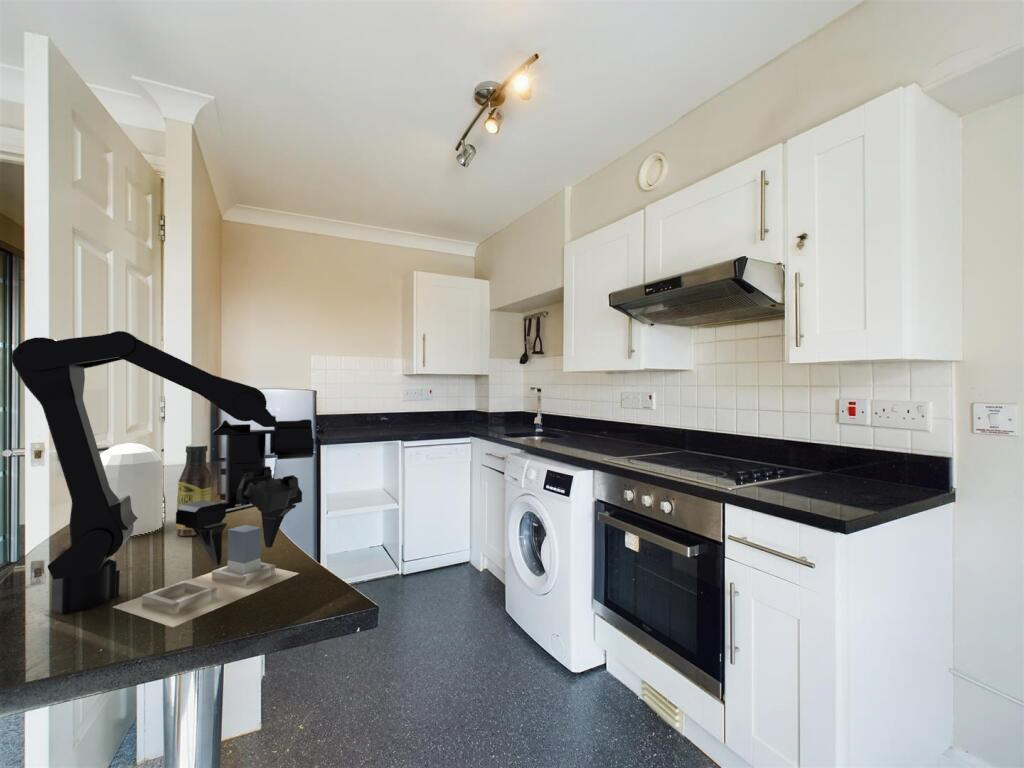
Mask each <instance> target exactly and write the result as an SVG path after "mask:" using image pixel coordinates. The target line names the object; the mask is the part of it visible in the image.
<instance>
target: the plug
mask: <svg viewBox="0 0 1024 768" xmlns="http://www.w3.org/2000/svg"><path fill="white" fill-rule="evenodd" d="M261 562H262V527H259V526H254V525H249V524H243V525H241V526H237V527H231V528H229V529H227V565H226V566H227V572H230V573H234V574H238V575H245V574H248V573H251V572H253V571H256V570H259V569H261Z"/></svg>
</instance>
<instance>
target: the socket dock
mask: <svg viewBox="0 0 1024 768" xmlns="http://www.w3.org/2000/svg"><path fill="white" fill-rule="evenodd" d="M297 575H300V573H299V572H295V571H290V570H286V569H281V568H276V564H271V563H266V562H262V561H261V569H259V570H256V571H253V572H251V573H248V574H245V575H238V574H234V573H230V572H227V565H226V566H223V567H220V568H217V569H213V570H211V572H208V573H206V574H202V575H198V576H196V577H194V578H191V579H185V580H182V581H180V582H176V583H173V584H170V585H167V586H164V587H161V588H159V589H156V590H153V591H151V592H148V593H144V594H142V595H141V596H138V597H136V598H134V599H131V600H128V601H125V602H122V603H119V604H115V605H113V606H112V608H113V609H116V610H119V611H123V612H124V613H125V612H126V613H129V614H132V615H135V616H138V617H141V618H144V619H147V620H150V621H153V622H155V623H158V624H161V625H165V626H167V627H171V628H176V627H178V626H179V625H182V624H184V623H186V622H190V621H192V620H193V619H197V618H199V617H201V616H203V615H205V614H208V613H210V612H212V611H215V610H218V609H220V608H223V607H224V606H227V605H230V604H232V603H234V602H236V601H238V600H239V601H240V600H241V599H243V598H245V597H248V596H251V595H253V594H255V593H257V592H260V591H262V590H265V589H267V588H269V587H271V586H274V585H276V584H278V583H281V582H284V581H286V580H288V579H291V578H293V577H294V576H297Z"/></svg>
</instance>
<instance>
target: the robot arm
mask: <svg viewBox="0 0 1024 768" xmlns="http://www.w3.org/2000/svg"><path fill="white" fill-rule="evenodd" d="M123 360H124V361H125V362H129V363H130V364H132V365H135V366H137V367H139V368H141V369H143V370H145V371H147V372H150V373H152V374H154V375H157V376H159V377H161V378H163V379H165V380H167V381H170V382H172V383H175V384H177V385H179V386H180V387H183V388H185V389H188V390H190V391H192V392H194V393H196V394H197V395H200V396H201V397H203V398H204V399H205V400H207V401H209V402H210V403H212V404H213V405H214V406H216V407H217V408H218V409H220V410H221V411H223V412H224V413H226V414H227V415H229V416H230V417H232V418H233V419H235V420H237V421H241V422H250V421H251V422H252V421H253V422H254V423H256V424H258V425H260V426H261V427H263V428H273V429H251V424H250V423H247V424H245V423H244V424H243V423H242V424H241V423H240V424H231V423H230V422H229V421H228V420H227V419H225V420H223V421H222V423H221V424H220V425H219V426H218V427H217V428H216V429H215V430H213V431H212V435H213V436H218V437H219V436H226V439H225V440H226V441H225V445H226V446H225V450H226V452H225V467H222V468H220V471H219V472H220V476H221V475H222V476H225V483H224V484H225V487H224V488H225V489H224V490H225V491H224V492H220V493H219V500H220V501H221V502H219V501H206V500H203V501H198V502H193V503H188V504H183V505H181V506H180V508H179V509H178V510H177V509H176V513H175V525H176V524H181V525H185V527H186V528H191V529H193V530H194V532H195V533H196V535H195V536H197V537H198V539H199V540H200V542H201V544H202V545H203V547H204V549H205V551H206V553H207V555H208V557H209V559H210V560H211V563H212V564H213V565H214V566H221V561H222V550H223V549H222V548H223V547H222V539H223V538H222V537H223V531H224V530H225V528H226V526H227V525H228V524H227V522H222V521H223V520H224V519H225V518H226V517H227V515H226V514H232V513H235V512H239V511H243V510H247V509H251V508H252V509H253V508H256V509H257V510H258V511H259V512H260V514H261V523H262V525H261V526H262V533H263V540H264V545H265V546H264V547H265V548H267V549H271V548H272V547H273V545H274V543H275V540H276V537H277V535H278V532H279V529H280V527H281V524H282V522H283V520H284V518H285V516H286V515H287V514H288V513H289V512H291V510H293V509H296V507H297V505H296V504H299V503H302V502H303V491H302V489H300V487H299V478H298V477H296V476H295V475H292V474H291V475H286V476H284V477H282V478H280V477H279V478H274V477H273V473H272V469H271V466H269V465H266V450H267V449H266V448H267V447H266V445H267V443H266V442H267V440H266V439H267V438H266V437H267V435H269V455H273V456H276V459H277V460H292V459H295V460H296V459H308V458H309V459H310V458H313V455H314V451H315V450H314V449H315V438H314V437H313V426H312V425H313V424H312V423H313V421H312V420H311V419H308V418H306V419H305V418H304V419H300V420H277V416H276V415H273V414H271V412H270V411H269V410H268V409H267V399H266V395H265V394H264V393H263V392H262V391H261V390H260V389H258V388H257V387H253V386H251V385H247V384H244V383H242V382H237V381H235V380H231V379H228V378H224V377H220V376H217V375H214V374H211V373H209V372H207V371H205V370H203V369H201V368H199V367H197V366H195V365H192V364H190V363H189V362H186V361H184V360H182V359H181V358H178V357H176V356H174V355H172V354H170V353H167V352H166V351H163V350H161V349H159V348H157V347H155V346H153V345H151V344H149V343H147V342H145V341H143V340H141V339H140V338H139V337H137V336H136V335H134V334H131V333H130V332H127V331H120V330H119V331H112V332H111V333H105V334H98V335H88V336H80V337H72V338H71V337H70V338H66V339H59V340H57V339H54V338H49V337H45V336H43V337H32V338H28V339H26V340H24V341H22V342H21V343H19V344H18V345H17V346H16V348H14V349H13V350H12V353H11V362H12V365H13V367H14V369H15V371H16V372H17V374H18V376H19V378H20V379H21V380H22V382H23V384H24V385H25V387H26V388H27V389H28V391H29V392H30V393H31V394H32V395H33V397H34V398H35V399H36V400H37V401H38V402H39V404H40V405H41V407H42V409H43V413H44V417H45V419H46V422H47V426H48V429H49V432H50V436H51V439H52V442H53V445H54V447H55V451H56V455H57V457H58V461H59V464H60V466H61V470H62V473H63V477H64V480H65V483H66V486H67V489H68V492H69V493H68V494H69V495H70V499H71V507H70V516H69V524H68V525H69V536H70V537H69V539H70V546H69V547H68V548H67V549H66V550H64V551H62V553H60V555H58V556H57V557H56V558H55V559H53V561H51V562H50V563H49V564H48V565H47V569H48V572H49V574H50V575H51V594H50V595H51V596H50V598H51V600H50V606H51V607H50V611H51V612H53V613H56V614H58V615H60V616H61V615H62V616H64V615H67V614H70V613H77V612H83V611H87V610H90V609H94V608H97V607H99V606H102V605H104V604H106V603H108V602H109V601H110V600H112V599H115V598H117V597H119V596H120V592H121V591H120V589H121V588H120V587H121V583H120V582H121V569H118V568H117V565H118V563H117V560H113V559H110V558H111V557H113V556H115V555H114V554H115V553H117V552H118V551H119V550H120V549H121V548H122V547H123V546H124V544H126V542H127V541H128V540H129V538H131V537H130V535H131V534H132V532H133V528H134V526H133V523H134V522H135V521H136V520H137V519H138V518H137V517H136V516H135V515H134V513H133V511H132V508H131V499H130V496H126V497H123V498H121V499H118V497H117V496H116V495H115V494H114V493H113V491H112V490H111V489H110V487H109V483H108V480H107V477H106V474H105V470H104V467H103V464H102V461H101V457H100V455H101V453H100V452H99V448H98V445H97V441H96V438H95V434H94V432H93V428H92V425H91V421H90V419H89V416H88V412H87V409H86V405H85V402H84V392H85V391H84V390H85V380H86V375H85V370H86V369H89V368H94V367H99V366H103V365H106V364H111V363H115V362H118V361H123ZM222 501H223V502H222ZM44 615H45V616H48V617H50V618H52V619H56V620H57V621H60V622H63V623H66V624H67V622H66V621H63V620H60V619H58V618H55V617H53V616H51V615H48V614H45V613H44Z"/></svg>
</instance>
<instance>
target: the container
mask: <svg viewBox="0 0 1024 768" xmlns="http://www.w3.org/2000/svg"><path fill="white" fill-rule="evenodd" d="M100 457H101V461H102V464H103V467H104V470H105V474H106V477H107V480H108V483H109V487H110V489H111V490H112V491H113V493H114V494H115V495H116V496H117V497H118V499H121V498H123V497H126V496H130V499H131V508H132V511H133V513H134V515H135V516H136V517H137V518H138V519H137V520H136V521H135V522H134V523H133V526H134V528H133V532H132V534H131V535H130V536H133V535H138V534H143V535H145V534H144V533H147V534H149V533H148V532H150V533H152V532H151V531H153V532H156V531H155V530H157V529H158V530H160V529H162V528H163V508H164V507H163V505H164V501H163V500H164V499H163V498H164V464H163V460H162V457H161V456H160V455H159V454H158V453H157V451H156V450H155V449H153V448H152V447H151V448H150V447H149V446H146V445H145V444H143V443H142V444H141V443H130V442H128V443H123V444H117V445H114V446H112V447H110V448H108V449H106V450H104V451H103V452H101V453H100ZM161 527H162V528H161ZM159 528H160V529H159ZM158 530H157V531H158ZM138 536H139V535H138Z"/></svg>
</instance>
